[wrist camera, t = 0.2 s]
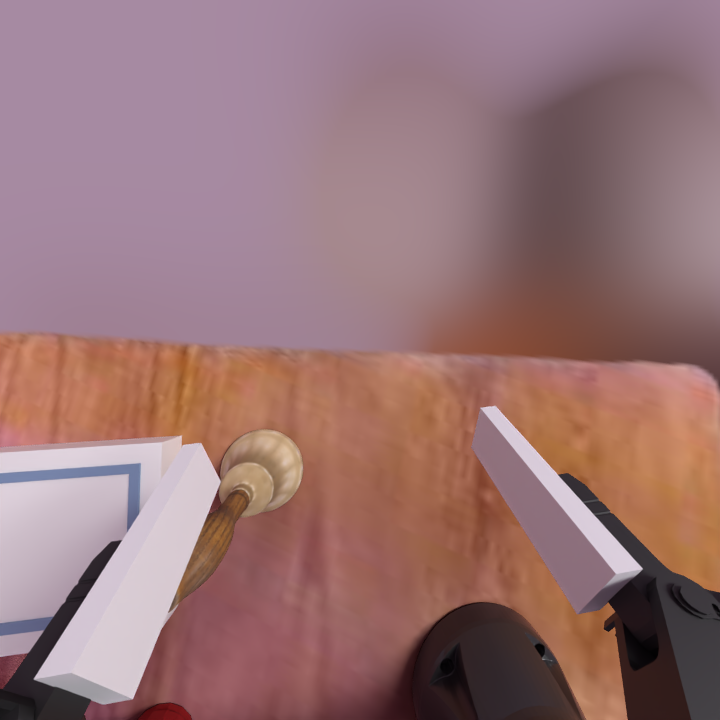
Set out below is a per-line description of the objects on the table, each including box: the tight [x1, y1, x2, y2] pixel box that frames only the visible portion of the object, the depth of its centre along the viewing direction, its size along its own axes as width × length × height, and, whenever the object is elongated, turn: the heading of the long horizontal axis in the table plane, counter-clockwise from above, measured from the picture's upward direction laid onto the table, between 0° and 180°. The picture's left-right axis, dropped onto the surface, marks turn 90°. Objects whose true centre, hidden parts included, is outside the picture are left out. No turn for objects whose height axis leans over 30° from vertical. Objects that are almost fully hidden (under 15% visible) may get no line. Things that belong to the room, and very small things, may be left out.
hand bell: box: [168, 429, 303, 613], centre depth 19 cm, size 8×8×16 cm
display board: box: [0, 436, 182, 657], centre depth 23 cm, size 16×16×3 cm
